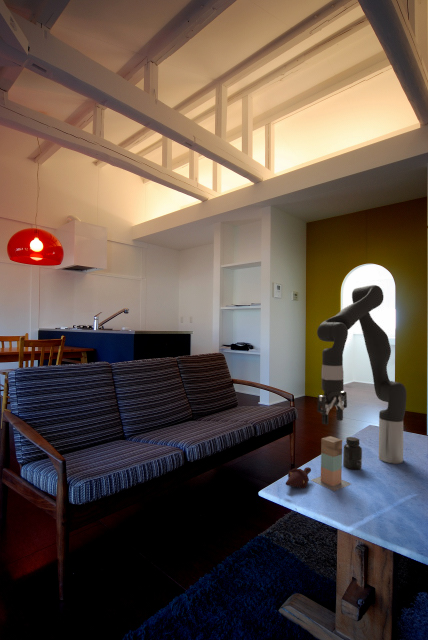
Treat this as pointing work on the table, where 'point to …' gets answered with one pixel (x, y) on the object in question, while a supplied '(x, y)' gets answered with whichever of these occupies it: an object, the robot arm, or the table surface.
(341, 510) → the table surface
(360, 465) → the supplement bottle
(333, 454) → the walnut brick
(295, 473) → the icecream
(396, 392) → the robot arm
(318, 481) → the plate
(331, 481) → the base brick
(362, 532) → the table surface
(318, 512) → the table surface
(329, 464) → the teal brick
